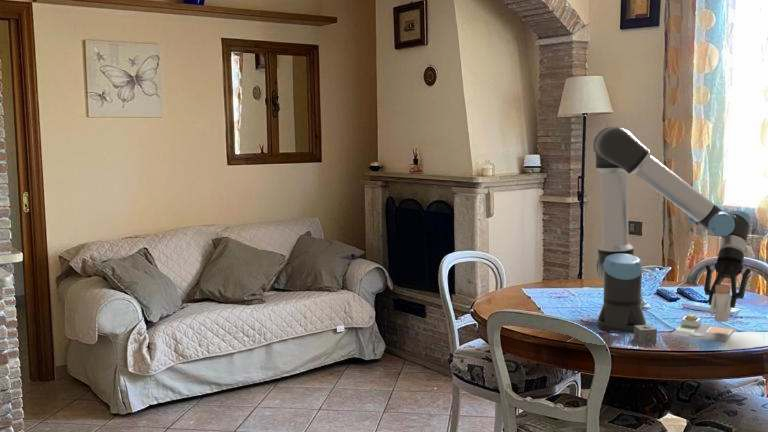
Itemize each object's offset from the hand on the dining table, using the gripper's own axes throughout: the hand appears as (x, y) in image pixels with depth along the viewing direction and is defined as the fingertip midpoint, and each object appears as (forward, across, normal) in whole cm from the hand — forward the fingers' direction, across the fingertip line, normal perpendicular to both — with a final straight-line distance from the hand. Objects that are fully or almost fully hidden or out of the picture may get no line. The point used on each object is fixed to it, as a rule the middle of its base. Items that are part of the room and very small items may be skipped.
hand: (719, 314), depth 234 cm
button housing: (+1, +10, -8) cm, 13 cm away
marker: (-1, 0, -5) cm, 5 cm away
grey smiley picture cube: (+18, +17, +8) cm, 26 cm away
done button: (-1, +10, -7) cm, 12 cm away
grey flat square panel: (+5, +4, -5) cm, 8 cm away
